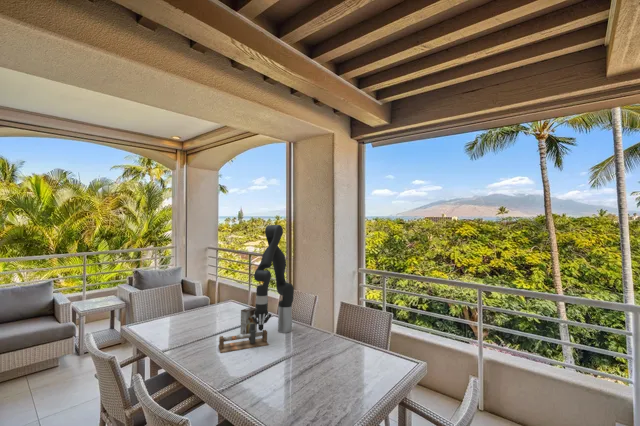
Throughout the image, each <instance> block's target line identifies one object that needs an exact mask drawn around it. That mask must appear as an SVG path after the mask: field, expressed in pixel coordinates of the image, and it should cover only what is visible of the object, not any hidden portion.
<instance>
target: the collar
mask: <svg viewBox="0 0 640 426" xmlns="http://www.w3.org/2000/svg"><path fill="white" fill-rule="evenodd" d="M250 333H251V338H248V340H249V341H250V342H251V344H252V343H255V339H257V337H256V333H257V332H256V331H255V324H250V328H249V334H250Z"/></svg>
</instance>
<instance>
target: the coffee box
mask: <svg viewBox="0 0 640 426" xmlns="http://www.w3.org/2000/svg"><path fill="white" fill-rule="evenodd" d="M254 313H255V307H252V306H251V307H247V308H244V309H240V334H239V335H244V334H249V328H250V324H255V331H256V333H257V332H258V331H257V329H258V328H257V327H258V324H256V323H255V321H254V320H253V319H252V318H251V316H253V315H254ZM255 319H256V321H258V318H257V317H256V316H255Z"/></svg>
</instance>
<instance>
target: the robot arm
mask: <svg viewBox="0 0 640 426" xmlns="http://www.w3.org/2000/svg"><path fill="white" fill-rule="evenodd" d="M283 229H284V228H283V226H282V225H281V224H271V225H270V224H269V225H266V227H265V229H264V230H265V231H264V234H265V238H266V242H267V244H268V246H267V247H266V248H265V250H264V251H263V253H262V257H261V260H260V263H259V265H258V266H257V268H256V270H255V272H254V275H253V277H254V278H253V279H254V280H255V281H256V282H263V284H259V285H257V286H256V291H255V293H256V294H255V296H256V297H255V306H254V308H255V313H254V315H253V316H251V318H252V319H253V320H254V321H255V323H256V324H257V327H258V328H257V329H258V330H259V332H263V330H264V325H265V324H267V322H268V321H269V320H270V319H271V316H272V314H271V313H269V311H268V309H269V307H268V306H269V305H268V304H269V296H268V295H269V291H268V290H269V285H270V282H271V278H272V273H271V271H269V270H266V269H268V268H271V266H273V271H274V272H273V273H274V276H275V284H276V292H277V293H278V294H279V295H281V296H282V299H281V300H279V302H278V311H277V312H278V316H277V332H278V333H280V334H281V333H283V334H286V333H287V334H288V333H290V332H293V316H292V313H293V311H292V307H293V302H294V294H295V293H294V292H295V291H294V284H292V283H290V282H287V281H286V277H285V273H286V268H287V260H286V255H285V253H284V252H283V250H282V249H281V248H280V247H279V244H280V241H281V239H282V236H283V233H284V230H283ZM255 316H256V317H257V321H256V319H255Z"/></svg>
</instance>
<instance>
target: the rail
mask: <svg viewBox="0 0 640 426" xmlns="http://www.w3.org/2000/svg"><path fill="white" fill-rule="evenodd" d="M257 337H259V338H257ZM260 337H261V338H260ZM249 338H251V333H250V334H244V335H242V334H239V335H232V336H223V335H220V336H219V338H218V345H217V346H218V350H219V353H220V354H225V353H230V352H235V351H236V352H237V351H242V350H248V349H254V348H259V347H266V346H269V342H268V330H266V329H263V330H262V331H259V332H258V331H257V332H256V339H255V343H252V344H251V342H250V341H249ZM245 339H248V340H245ZM238 340H240V341H238ZM241 340H242V341H241ZM231 341H233V342H231ZM235 341H236V342H235ZM225 342H229V343H225Z"/></svg>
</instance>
